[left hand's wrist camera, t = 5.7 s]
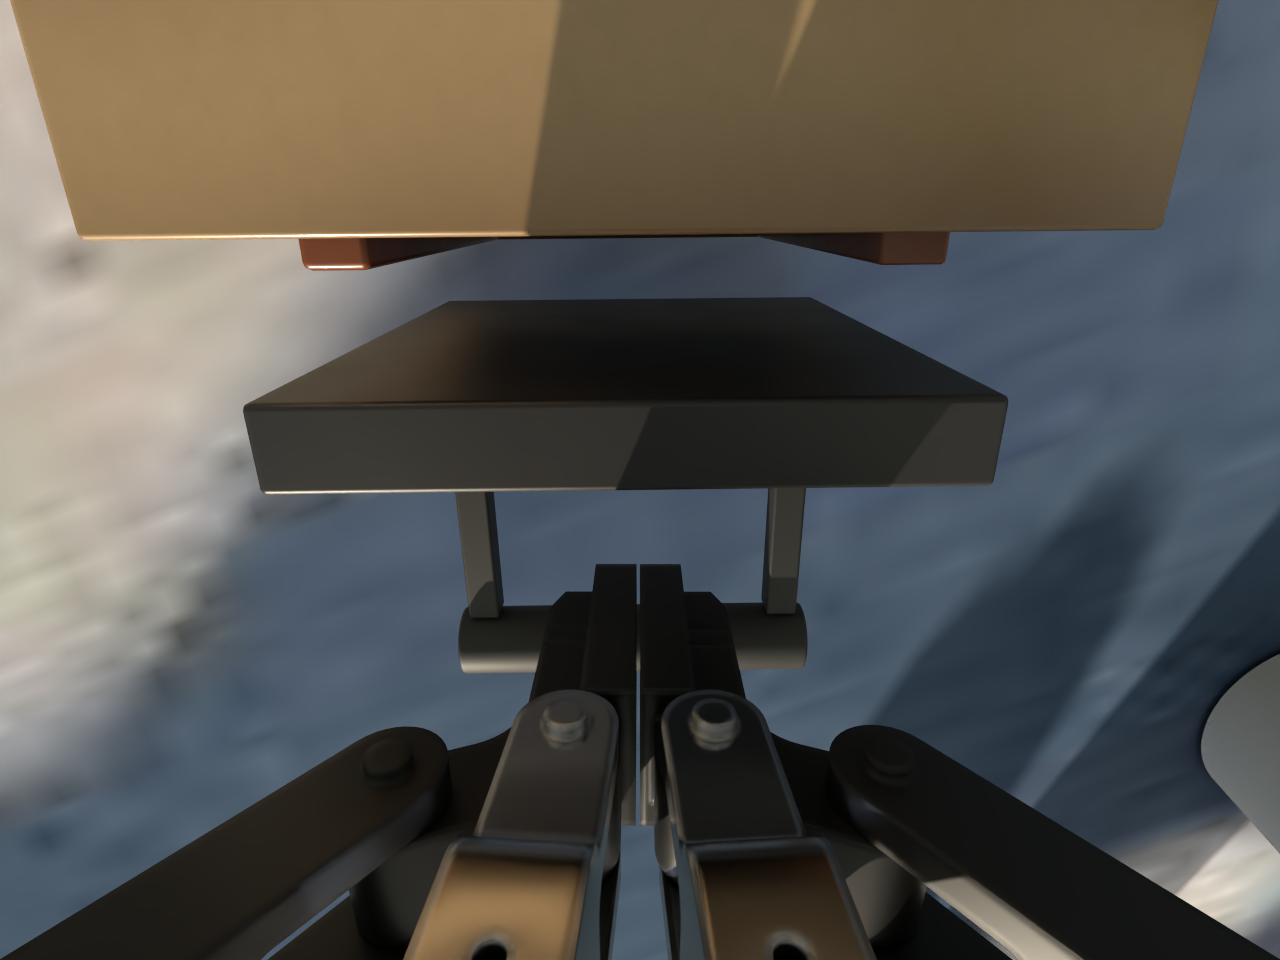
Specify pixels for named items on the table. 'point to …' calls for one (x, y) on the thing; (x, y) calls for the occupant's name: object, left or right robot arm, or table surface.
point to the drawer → (626, 418)
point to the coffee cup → (1249, 747)
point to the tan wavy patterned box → (612, 115)
